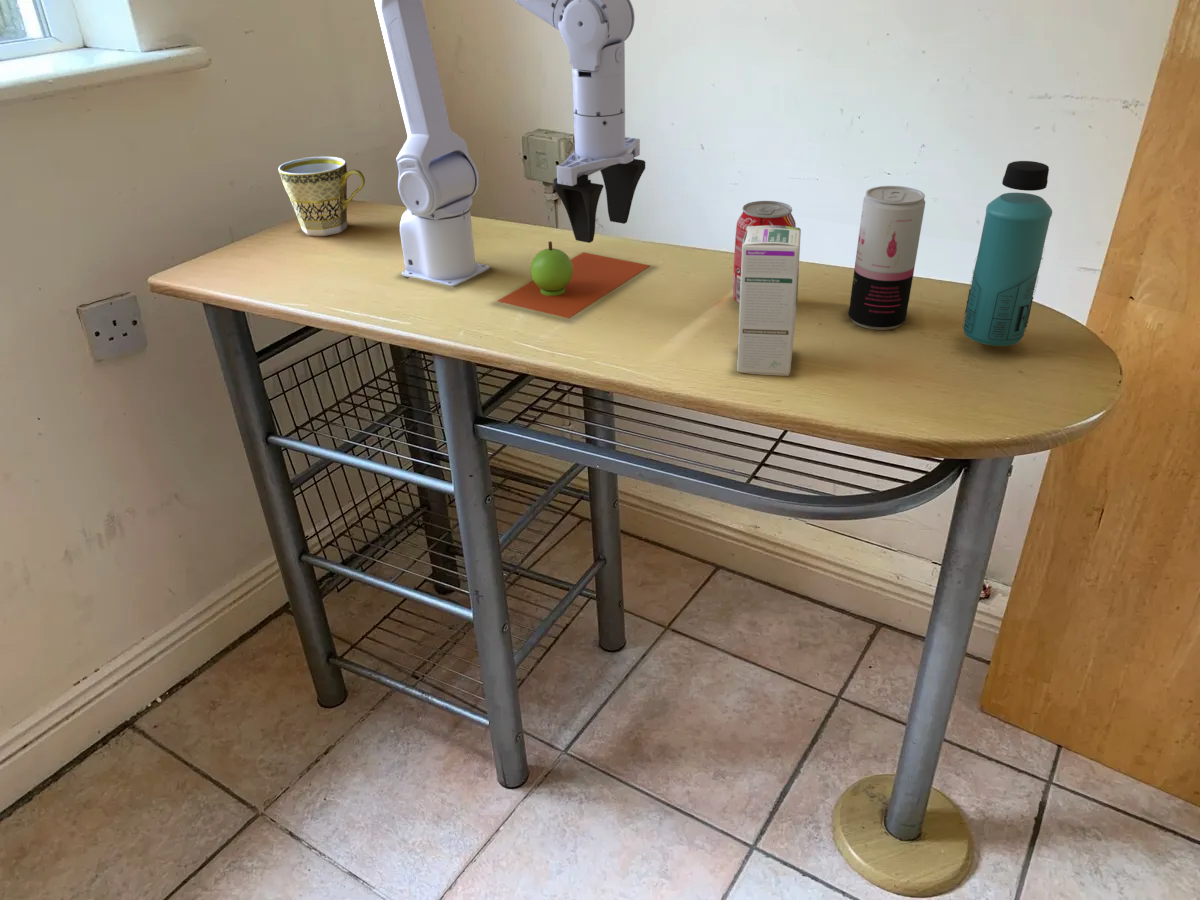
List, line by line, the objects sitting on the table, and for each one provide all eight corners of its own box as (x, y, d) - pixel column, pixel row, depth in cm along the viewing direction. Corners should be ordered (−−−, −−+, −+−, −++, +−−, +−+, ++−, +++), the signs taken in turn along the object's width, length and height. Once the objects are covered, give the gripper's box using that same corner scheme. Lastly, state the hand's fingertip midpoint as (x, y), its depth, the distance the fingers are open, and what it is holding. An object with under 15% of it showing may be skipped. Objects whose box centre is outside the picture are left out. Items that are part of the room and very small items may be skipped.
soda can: (795, 296, 113) (804, 202, 106) (780, 318, 107) (789, 220, 101) (741, 289, 115) (747, 196, 109) (724, 309, 110) (729, 213, 103)
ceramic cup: (280, 239, 137) (266, 173, 132) (309, 218, 145) (296, 155, 140) (360, 241, 135) (348, 174, 130) (384, 220, 143) (374, 157, 138)
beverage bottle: (1014, 364, 96) (1060, 175, 85) (950, 351, 99) (987, 167, 88) (1026, 341, 100) (1071, 159, 90) (965, 329, 103) (1001, 152, 93)
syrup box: (790, 377, 95) (803, 244, 87) (734, 373, 96) (742, 242, 88) (791, 353, 99) (804, 225, 92) (738, 350, 100) (745, 223, 93)
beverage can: (909, 313, 107) (930, 188, 99) (900, 334, 102) (921, 205, 94) (854, 305, 110) (870, 183, 102) (842, 326, 105) (859, 199, 97)
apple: (523, 294, 115) (519, 244, 111) (548, 280, 119) (545, 232, 115) (558, 302, 112) (555, 252, 109) (581, 288, 116) (580, 238, 113)
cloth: (497, 303, 113) (496, 300, 113) (583, 254, 128) (583, 252, 127) (568, 321, 108) (568, 318, 108) (650, 268, 122) (650, 265, 122)
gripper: (594, 128, 92) (597, 255, 99) (662, 102, 102) (661, 218, 109) (538, 121, 95) (545, 245, 102) (610, 96, 105) (612, 210, 113)
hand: (601, 231), depth 106 cm, fingers open, 7 cm apart
